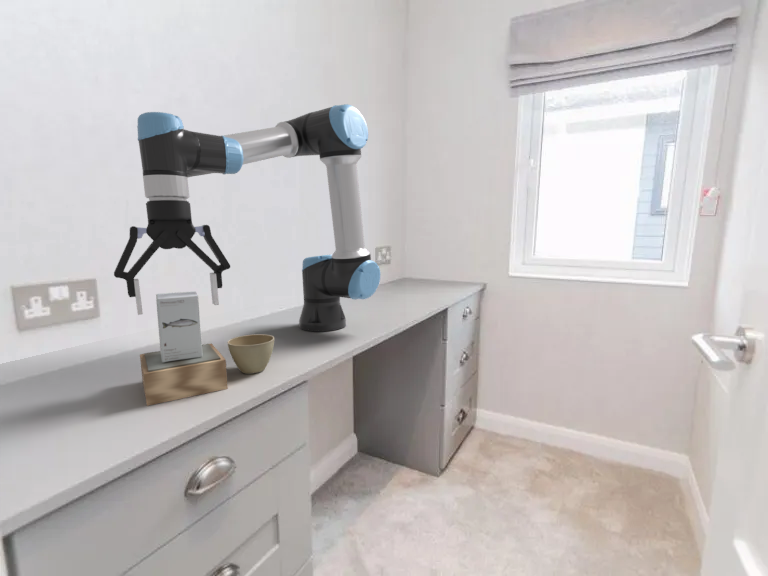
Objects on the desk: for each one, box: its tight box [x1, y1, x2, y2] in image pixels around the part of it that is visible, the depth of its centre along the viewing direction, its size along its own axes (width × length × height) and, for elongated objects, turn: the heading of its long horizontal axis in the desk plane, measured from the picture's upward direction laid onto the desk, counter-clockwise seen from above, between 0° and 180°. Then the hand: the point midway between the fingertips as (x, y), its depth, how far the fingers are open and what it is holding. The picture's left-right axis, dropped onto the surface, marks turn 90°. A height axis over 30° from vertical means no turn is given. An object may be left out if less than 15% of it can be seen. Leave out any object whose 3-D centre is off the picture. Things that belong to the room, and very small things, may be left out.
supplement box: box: [155, 291, 203, 363], centre depth 81 cm, size 7×7×13 cm
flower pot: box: [226, 333, 275, 375], centre depth 91 cm, size 10×10×7 cm
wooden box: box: [139, 343, 229, 407], centre depth 82 cm, size 14×14×6 cm
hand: (179, 308), depth 80 cm, fingers open, 13 cm apart
